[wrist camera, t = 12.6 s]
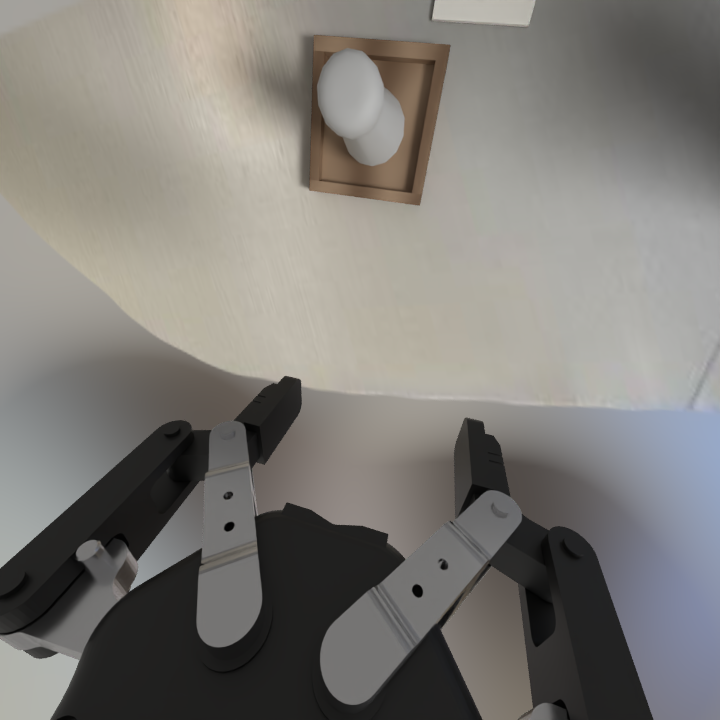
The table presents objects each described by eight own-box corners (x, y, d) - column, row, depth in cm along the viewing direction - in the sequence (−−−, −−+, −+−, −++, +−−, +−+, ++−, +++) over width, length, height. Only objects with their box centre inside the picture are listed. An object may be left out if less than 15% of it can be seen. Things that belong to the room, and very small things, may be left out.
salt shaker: (348, 97, 28) (296, 26, 17) (408, 93, 27) (395, 15, 16) (349, 169, 31) (305, 149, 20) (403, 168, 30) (390, 146, 19)
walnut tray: (448, 54, 26) (450, 44, 25) (419, 205, 32) (419, 205, 30) (320, 44, 27) (313, 34, 26) (314, 191, 33) (309, 190, 32)
